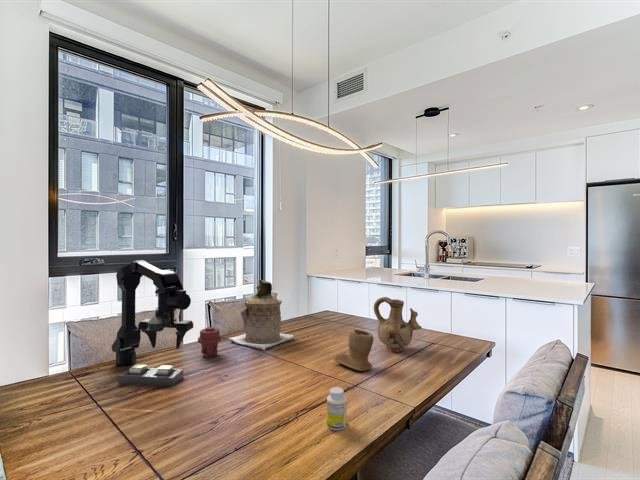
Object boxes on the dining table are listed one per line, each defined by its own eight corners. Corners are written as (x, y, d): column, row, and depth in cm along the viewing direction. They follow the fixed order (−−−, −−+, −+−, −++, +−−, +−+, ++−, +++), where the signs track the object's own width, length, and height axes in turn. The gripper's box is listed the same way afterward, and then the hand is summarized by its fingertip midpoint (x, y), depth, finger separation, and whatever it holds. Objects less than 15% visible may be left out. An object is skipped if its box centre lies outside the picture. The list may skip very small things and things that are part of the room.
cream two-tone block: (156, 383, 123) (156, 369, 123) (162, 378, 127) (162, 364, 127) (167, 383, 122) (167, 369, 122) (173, 378, 127) (173, 365, 127)
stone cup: (379, 368, 141) (379, 331, 140) (359, 375, 133) (359, 337, 133) (352, 358, 152) (353, 324, 152) (332, 364, 144) (333, 328, 144)
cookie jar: (295, 338, 180) (296, 278, 180) (264, 351, 159) (264, 283, 159) (260, 331, 193) (260, 274, 193) (227, 342, 172) (227, 279, 172)
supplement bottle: (334, 418, 101) (335, 384, 101) (350, 425, 97) (350, 389, 97) (322, 426, 97) (323, 390, 97) (338, 433, 93) (338, 396, 93)
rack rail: (118, 385, 122) (118, 375, 122) (132, 376, 130) (132, 367, 130) (172, 387, 120) (172, 377, 120) (183, 378, 128) (183, 369, 128)
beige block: (129, 382, 123) (129, 368, 123) (136, 377, 128) (136, 363, 127) (140, 382, 123) (140, 368, 123) (147, 377, 127) (147, 364, 127)
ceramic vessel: (392, 358, 152) (393, 302, 151) (366, 346, 168) (367, 295, 168) (422, 352, 160) (423, 299, 160) (394, 341, 177) (395, 293, 177)
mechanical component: (225, 352, 157) (214, 360, 147) (205, 350, 159) (193, 358, 149) (225, 325, 157) (214, 331, 147) (205, 324, 159) (193, 330, 149)
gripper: (128, 309, 120) (127, 354, 120) (179, 312, 118) (179, 357, 118) (147, 303, 131) (146, 344, 131) (194, 305, 129) (193, 346, 129)
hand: (165, 348), depth 127 cm, fingers open, 9 cm apart
